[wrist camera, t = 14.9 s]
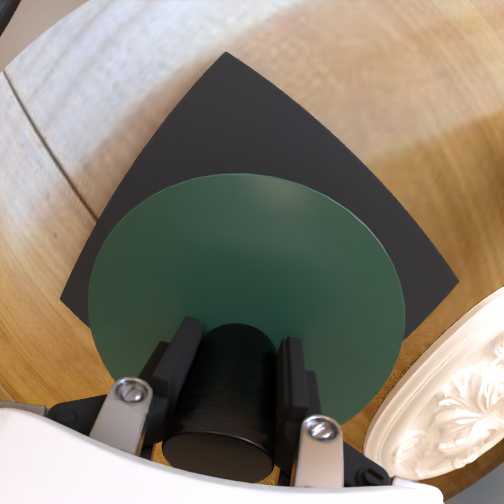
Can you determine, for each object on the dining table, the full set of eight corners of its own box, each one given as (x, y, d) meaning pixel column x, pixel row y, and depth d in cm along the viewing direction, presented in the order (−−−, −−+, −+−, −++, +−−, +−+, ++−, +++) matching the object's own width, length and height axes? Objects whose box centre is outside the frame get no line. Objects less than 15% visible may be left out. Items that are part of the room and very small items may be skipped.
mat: (63, 296, 18) (59, 299, 18) (227, 54, 13) (225, 50, 13) (261, 439, 21) (261, 444, 20) (455, 278, 16) (459, 281, 15)
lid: (66, 330, 14) (-5, 398, 7) (218, 99, 10) (149, 20, 4) (256, 459, 16) (248, 543, 9) (444, 319, 12) (517, 403, 5)
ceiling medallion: (304, 462, 22) (306, 487, 19) (510, 212, 14) (537, 221, 11) (448, 477, 24) (453, 492, 21) (575, 332, 16) (587, 342, 13)
